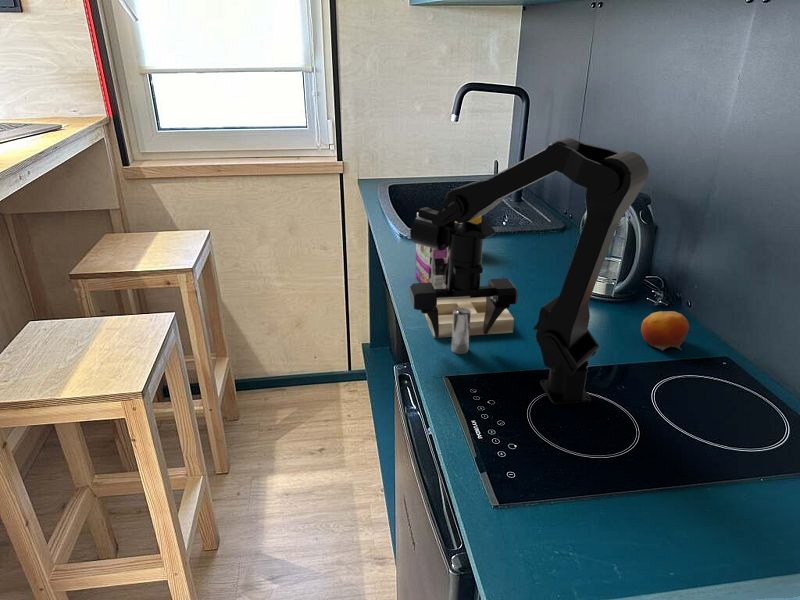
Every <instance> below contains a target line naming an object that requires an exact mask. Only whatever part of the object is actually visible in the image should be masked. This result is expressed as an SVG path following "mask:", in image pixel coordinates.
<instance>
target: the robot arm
mask: <svg viewBox="0 0 800 600" xmlns="http://www.w3.org/2000/svg"><path fill="white" fill-rule="evenodd" d="M556 172H557V173H561V174H563V175H564V176H565V177H567V178H568V179H569V180H570V181H571V182H573V183H574V184H576V185H579V186H581V187H583V188H585V193H584V194H585V195H584V202H585V211H586V217H585V220H584V222H583V226H582V229H581V231H580V232H581V233H580V235H579V237H578V241H577V243H576V246H575V248H574V252H573V256H572V258H571V261H570V264H569V267H568V269H567V273H566V276H565V278H564V281H563V285H562V287H561V290H560V292H559V295H557V296H556V297H555V298H553V299H552V300H550V301H548V302H547V303H546V304H544V305H543V306H542V307H541V308H540V311H539V314H538V319H537V323H536V325H535V326H534V327H533V330H534V331H535V330H536V332H535V341H536V343H537V344H538V347H540V352H541V356H542V361H543V365H544V367H546V368H548V369H549V373H548V379H541V380H540V381H539V385H540V386H541V387H542V389H543V391H544V393H546V396H547V397H548V399H549V400H550V402H551V403H552V404H553V405H555V406H558V405H568V404H569V405H570V404H582V403H591V402H592V397H591V395H589V393H588V392H587V390H586V389H585V386H586V381H587V374H588V367H589V362H588V360H590V359H591V358H592V357H593V356H595V354H596V353H597V352H598V350H599V349H600V345H599V343H598V342H597V340H596V339H595V337H594V336H593V335H592V333H591V332H590V331H589V329H588V328H589V323H590V318H591V315H590V306H589V302H590V299H591V296H592V293H593V291H594V289H595V286H596V284H597V280H598V278H599V275H600V272H601V270H602V268H603V265H604V262H605V260H606V257H607V254H608V251H609V250H610V249H609V248H610V246H611V243H612V241H613V239H614V236H615V233H616V230H617V227H618V225H619V223H620V221H621V219H622V218H623V217H624V215H625V213H626V212H627V211H628V210H629V208H630V207H631V205H633V203H634V202H635V200H636V199H637V197H638V196H639V194H640V191H642V189H643V187H644V185H645V184H646V182H647V180H648V178H649V166H648V164H647V162H646V160H645V159H644V158H643V157H642V156H641V155H640V154H638V153H636V152H633V151H630V150H629V151H628V150H627V151H621V152H617V151H615V150H613V149H610V148H605V147H601V146H596V145H591V144H587V143H585V142H581V141H578V140H576V139H574V138H571V137H568V138H564V139H560V140H555V141H553V142H551V143H549V144H548V145H547V146H546V147H545V148H542V149H541V150H539V151H536V152H535V153H534V154H532V155H530V156H528V157H526V158H525V159H523V160H521V161H519V162H517V163H515V164H513V165H512V166H509V167H507V168H506V169H504V170H502V171H500V172H498V173H496V174H494V175H492V176H490V177H487V178H485V179H481V180H476V181H474V182H471V183H467V184H465V185H461V186H458V187H455V188H452V189H451V190H449V191H448V192H447V193H446V195H445V203H444V205H442V207H441V208H440V210H435V209H432V208H430V207H428V206H427V207H426V206H424V207H421V208H418V210H417V211H418V216H417V215H416V217H415V218H414V220H413V222H412V224H411V228H410V229H409V234H410V239H411V241H412V242H413V243H414V244H419V245H423V246H426V247H430V248H433V249H436V250H440V251H443V250H445V249H446V248H447V247H448V246H449V257H448V261H447V262H446V263H444V259H443V258H434V259H433V265H432V268H433V275H435V276H438V275H442V279H444V283H445V285H448V288H445V289H434V287H433V285H432V283H431V282H430V283H420V282H418V283H416V282H414V283H412V284H411V286H409V299H410V301H411V304H412V308H413V310H416V311H420V312H421V313H422V314H428V316H429V318H430V321H431V324H432V327H433V330H434V334H435V336H436V338H435V339H438V336H439V320H438V309H437V307H436V305H437V300H443V299H460V298H477V297H486V311H485V317H484V324H483V333H484V335H488V334H487V333H488V332H489V330H490V328H491V327H492V325H493V324H494V322H495V321H496V319H497V318H498V317H499V315H500V314H501V313H502V312H503V311H504V309H506V308H507V309H509V308H510V307H511V305H516V304H518V299H519V291H518V288H516V287H515V285H514V284H513V282H512V280H510V278H508V277H506V278H505V277H504V278H489V280H488V282H487V285H483V286H482V285H481V278H482V277H481V275H482V273H483V270H484V268H483V266H482V261H483V260H482V259H483V247H484V240H486V239H487V238H489V237H492V236H494V235H496V231H495V229H494V228H493V227H492V226H491V225H490V223H488V221H487V220H483V221H481V223H479V224H477V223H473V222H469V220H472V219H474V218H477V217H479V216H481V217H483V216H484V215H487V214H488V213H489V212H490V211H492V210H493V209H494V208H496V207H497V206H498V205H499V204H500V203H501V202H503V200H504V199H505V198H507V197H508V196H509V195H512V194H514V193H516V192H518V191H520V190H522V189H524V188H526V187H528V186H530V185H532V184H534V183H536V182H539V181H540V180H543V179H545V178H546V177H547V178H548V177H549V176H551V175H553V174H554V173H556ZM455 221H456V222H457V223H456V222H455ZM460 223H462V224H460Z"/></svg>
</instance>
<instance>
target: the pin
mask: <svg viewBox="0 0 800 600" xmlns="http://www.w3.org/2000/svg"><path fill="white" fill-rule="evenodd" d="M470 316H471V311H470V310H468V309H466V308H456V309H454V310H453V323H452V337H451V344H450V345H451V346H450V347H451V349H450V350H451V352H452V353H454V354H456V355H457V354H458V355H463V354H464V355H465V354H467V353H468V352H469V344H470V343H469V342H470V335H469V331H470Z"/></svg>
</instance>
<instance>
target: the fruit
mask: <svg viewBox="0 0 800 600" xmlns="http://www.w3.org/2000/svg"><path fill="white" fill-rule="evenodd" d="M689 328H690V324H689V321H688V319H687V318H686V317H685V316H684V315H683V314H682V313H679V312H677V311H674V310H673V311H667V310H666V311H665V310H664V311H662V310H659V311H656V312H652V313H650V314H649V315H648V316H646V317H645V318H644V319H643V321H642V322H641V328H640V333H641V335H642V339H643V340H644V341H645V342H646V343H647V344H648V345H649V346H651V347H654V348H656V349H659V350H661V351H662V352H664V350H666V349H668V348H677V349H679V350H680V351H682V350H683V349H682V348H681V347H680V346H681V345H682V344H683V342H684V341H685V338H686V337H687V334H688V331H689ZM682 352H683V351H682Z"/></svg>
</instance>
